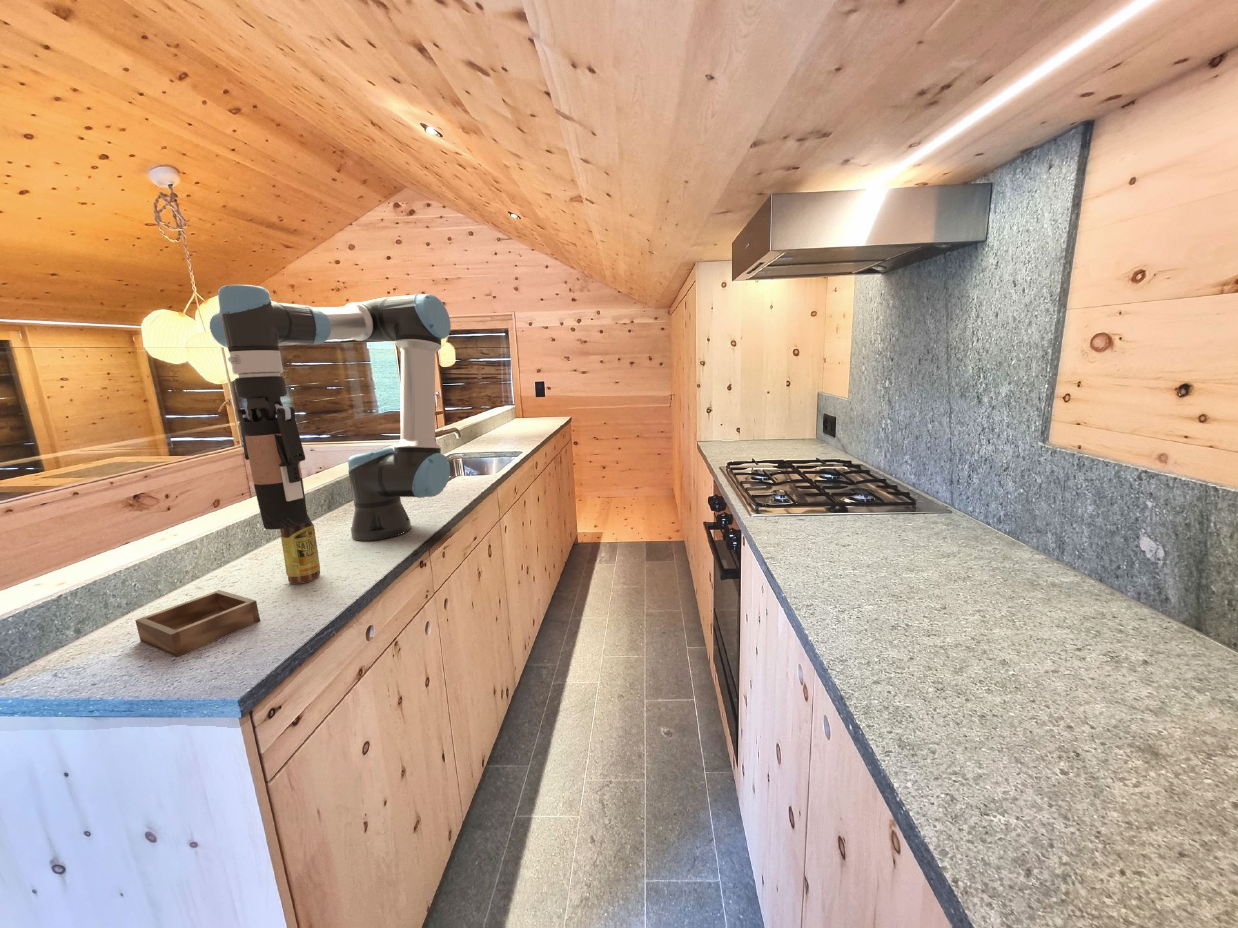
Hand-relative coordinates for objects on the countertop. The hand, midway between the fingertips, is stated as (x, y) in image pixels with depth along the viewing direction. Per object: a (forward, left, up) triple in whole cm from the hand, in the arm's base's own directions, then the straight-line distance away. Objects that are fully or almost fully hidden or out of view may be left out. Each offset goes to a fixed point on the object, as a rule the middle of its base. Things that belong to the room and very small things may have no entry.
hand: (281, 497), depth 95 cm
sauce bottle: (-7, -10, -21) cm, 25 cm away
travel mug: (0, 0, -5) cm, 5 cm away
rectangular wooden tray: (+14, -5, -21) cm, 26 cm away
